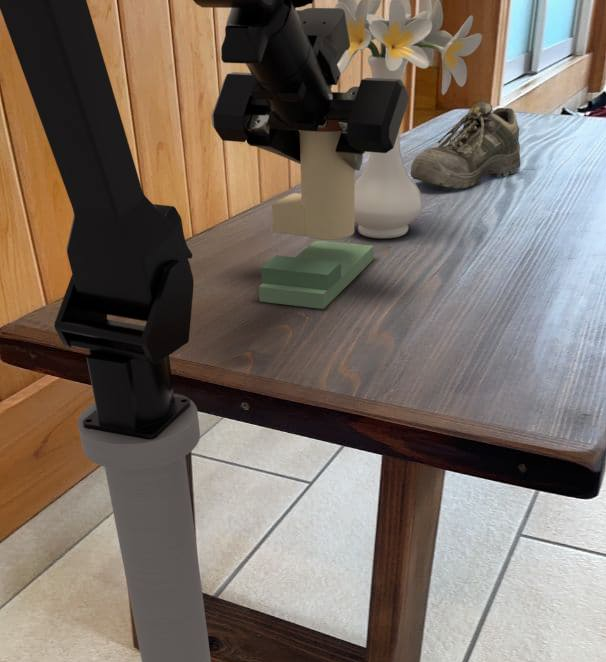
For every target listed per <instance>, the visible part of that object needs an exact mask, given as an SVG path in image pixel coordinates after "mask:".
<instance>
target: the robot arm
mask: <svg viewBox="0 0 606 662" xmlns="http://www.w3.org/2000/svg"><path fill="white" fill-rule="evenodd" d="M192 1H193V2H194V4H196V5H197V6H198V7H201V8H209V9H211V8H214V9H216V8H217V9H224V8H225V9H227V8H228V9H230V11H229V14H228V17H227V20H226V24H225V27H224V37H223V41H222V43H221V48H220V57H221V58H220V59H221V61H222V62H223V63H224V64H245V66H246V67H247V69H248V71H249V72H240V71H239V72H238V71H237V72H236V71H233V72H230V73H227V74H226V75H225V77H224V78H223V82H222V83H221V87H220V90H219V93H218V96H217V99H216V102H215V105H214V108H213V111H212V114H211V125H212V127H213V129H214V130H215V132H216V134H217V135H218V136H219V138H220V139H221V141H223V142H225V141H226V142H234V143H235V142H238V143H245V142H246V144H247V145H249V146H250V147H254V148H255V147H256V148H259V149H261V150H264V151H266V152H270V153H272V154H275V155H278V156H279V157H283V158H285V159H287V160H290V161H292V162H294V163H297V164H299V165H301V164H300V130H301V131H315V132H317V129H318V128H325V127H326V126H327V124H328V120H334V121H339V125H340V127H341V128H343V129H342V132H341V135H340V138H339V141H338V144H337V147H336V150H335V151H336V153H337V154H338V155H339V156H340V157H342V158H343V159H344V160H345V161H346V162H347V163H348V164H349V165H350V166H351V167H352V168H353V169H355V171H360V170H361V167H362V164H363V160H364V159H363V158H364V153H370V152H376V153H387V152H388V151H390V150H391V149H393V147H394V144H395V141H396V138H397V135H398V132H399V133H400V128H401V125H402V122H403V119H404V117H405V113H406V110H407V107H408V104H409V102H410V101H409V100H410V97H409V94H408V90H407V88H406V86H405V84H404V82H403V80H402V81H401V79H382V78H372V77H366V78H363V79H361V80H360V82H359V86H352V87H349V89H348V90H347V91H346V92H339V91H332V87H333V86H337V85H338V83H339V80H340V77H341V73H340V70H339V68H338V66H337V63H338V62H339V60H340V59H341V57H342V56H343V54H344V53H345V51H346V50H348V49H349V47H350V41H349V35H348V29H347V23H346V17H345V11H344V10H343V9H340V8H335V7H307V8H304V9H299V10H297V9H296V8H302V7H306V6H308V5H312V4H313V3H314V0H192ZM0 12H1V16H2V18H3V21H4V23H5V27H6V30H7V33H8V35H9V37H10V40H11V43H12V46H13V48H14V51H15V54H16V57H17V59H18V62H19V65H20V68H21V70H22V73H23V75H24V78H25V81H26V84H27V86H28V90H29V92H30V95H31V98H32V100H33V101H32V102H33V104H34V106H35V109H36V112H37V114H38V117H39V120H40V122H41V126H42V128H43V131H44V134H45V136H46V139H47V142H48V144H49V145H48V146H49V147H50V150H51V153H52V155H53V159H54V161H55V163H56V166H57V170H58V173H59V175H60V177H61V180H62V183H63V186H64V188H65V191H66V193H67V196H68V199H69V202H70V205H71V208H72V212H73V218H72V223H71V226H70V231H69V235H68V240H67V244H66V255H67V259H68V263H69V267H70V271H71V276H70V278H69V282H68V285H67V288H66V290H65V293H64V296H63V299H62V302H61V304H60V307H59V310H58V312H57V316H56V318H55V320H54V325H53V326H54V329H55V331H56V333H57V335H58V337H59V339H60V341H61V343H62V344H63V346H64V347H67V348H72V347H73V348H77V349H83V350H88V351H89V354H88V355H86V362H87V367H88V372H89V377H90V383H91V384H90V385H91V389H92V395H93V400H94V403H95V405H96V410H95V411H94V412H93V413H92V414H90V415H89V416H88V417H87V418H85V419H84V420H83V427H84V428H87V429H93V430H98V431H104V432H109V433H114V434H120V435H125V436H131V437H136V438H142V439H147V440H151V439H155V438H156V437H157V436H158V435H159V434H161V433H162V432H163V431H164V430H165V429H166V428H167V427H168V426H169V425H170V424H171V423H172V422H174V421H175V420H176V419H177V418H178V417H179V416H180V415H181V414H182V413H183V412H184V411H185V410H186V409H188V408H189V407H190V405H191V404H190V400H191V399H190V398H189V399H187V398H182V397H176V396H173V392H175V391H174V384H173V376H172V375H173V374H172V369H171V361H170V356H171V354H173V353H175V352H176V351H178V350H179V349H180V348H182V347H184V346H185V345H187V344H188V343H189V341H190V331H191V319H192V311H193V310H192V309H193V300H194V299H193V296H194V276H193V271H192V268H191V264H190V261H189V259H192V258H193V253H192V251H191V249H190V248H189V246H188V244H187V241H186V237H185V234H184V233H185V232H184V227H183V221H182V217H181V215H180V213H179V211H178V209H177V208H176V207H175V206H173V205H166V204H158V203H157V204H156V203H152V201H151V200H150V199H149V198H148V197H147V196H146V195H145V193H144V191H143V188H142V184H141V181H140V178H139V174H138V171H137V168H136V164H135V161H134V157H133V154H132V151H131V147H130V144H129V141H128V137H127V134H126V131H125V127H124V123H123V119H122V117H121V112H120V109H119V107H118V103H117V100H116V96H115V93H114V90H113V86H112V83H111V79H110V76H109V73H108V72H109V71H108V69H107V66H106V62H105V59H104V55H103V51H102V48H101V46H100V42H99V38H98V35H97V32H96V28H95V24H94V21H93V18H92V15H91V11H90V8H89V5H88V1H87V0H0ZM108 316H111V317H117V318H124V319H130V320H135V321H140V322H146V323H145V325H140V324H136V323H129V322H124V321H118V320H113V319H108Z"/></svg>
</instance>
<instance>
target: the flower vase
mask: <svg viewBox="0 0 606 662" xmlns="http://www.w3.org/2000/svg"><path fill="white" fill-rule="evenodd" d="M381 4H382V0H360V1H359V2H357V0H338V2H336V4H335V6H334V8H340V9H343V10H344V11H345V17H346V23H347V29H348V35H349V41H350V47H349V49H348V50H346V51H345V53H344V54H343V56H342V57H341V59H340V60H339V62H338V63H337V66H338V68H339V70H340V73H341V74H343V73H344V72H345V71H346V69H348V67H349V64H350V63H351V61H352V59H353V58H354V56H355V55H356V54H357V53H358V52H359V51H362V50H365V49H366V48H367V49H369V50H370V52H371V55H368V57H367V63H368V65H369V67H370V71H371V78H382V79H401V81H402V82H403V79H404V74H405V71H406V70H405V69H406V66H407V64H408V63H410V64H412V65H414V66H415V67H417V68H419V69H424V70H425V69H428V68H429V66H430V62H431V61H433V60H434V58H435V54H434V51H433V50H435V51H437V52H439V53H440V54H441V66H442V76H441V94H442V96H444V95H445V94H446V93H448V92H447V91H448V90H449V88H450V85H451V82H452V77H453V79H454V81H455V82H456V85H458V87H461V88H462V87H464V86H465V84H466V82H467V79H468V67H467V64H466V62H465V60H464V59H463V58H462V57H468V56H469V55H471V54H472V53H474V52H475V51H476V50H477V49H478V47H479V46H480V45H481V43H482V39H483V35H482V33H474V34H471V35H469V36H467V35H468V34H469V32H470V31H471V28H472V25H473V22H474V16H473V15H469V16H468V17H467V19H466V20H465V22H464V23H463V24H462V25H461V27H460V28H459V30H458V31H457V32H456V33H455V34H454V36H453V35H452V34H451V33H449V32H448V31H446V30H440V29H441V28H442V25H443V21H444V11H443V6H442V2H441V1H440V0H435V2H434V5H433V4H432V0H426V10H423V11H421V12H419V13H417V14H416V15H415V16H413V17H411V16H412V7H411V3H410V0H390V3H389V6H388V19H387V20H386V19H384V18H383V17H382V16H380V15H377V12H378V10H379V8H380V6H381ZM375 40H377V42H379V43H381V46H380V47H381V53H380V51H379V48H378V46H377V45H376V44H375V42H373V41H375ZM341 74H340V75H341ZM400 137H401V136H400V131H399V132H398V135H397V138H396V141H395V144H394V147H393V149H391V150H390V151H388V152H387V153H376V152H369V157H368V159H367V163H366V165H365V167H364V170H363V171H362V173H361V175H360V176H359V178H358V179H357V180H355V212H354V224H357V225H358V226H357V231H358V233H359V234H360V235H362V236H364V237H366V238H372V239H395V238H399V237H403V236H404V235H406V234H407V233H408V232H409V225H410V224H411V223H413V222H414V221H415V220H416V219H417V217H418V216H419V215H420V213H421V211H422V210H423V206H424V204H423V198H422V193H421V190H420V188H419V187H418V185H417V183H416V182H415V181H414V179H413V178H412V177H411V176H410V175H409V174H408V172H407V169H406V167H405V165H404V161H403V158H402V152H401V142H400V141H401V140H400V139H401V138H400Z"/></svg>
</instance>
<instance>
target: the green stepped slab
mask: <svg viewBox="0 0 606 662" xmlns="http://www.w3.org/2000/svg"><path fill="white" fill-rule="evenodd" d="M374 247H375V246H374V245H369V244H360V243H359V244H358V243H349V242H348V243H347V242H336V241H328V240H318V239H315V240H314V241H313V242H312V243H311V244H309V245H308V246H307V247H305V248H304V249H303V250H302V251H301V252H299V253H298V254H297V255H296V256H285V255H275V256H274V257H272V259H270V260H269V261H267V262H266V263H265V264H263V265H262V266H261V267H260V273H261V284H260V285H259V286H258V294H259V295H258V296H259V297H258V298H259V302H261V303H267V304H268V303H269V304H277V305H285V306H286V305H287V306H293V307H294V306H295V307H302V308H311V309H319V310H324V309H326V308H327V306H328V305H329V304H330V303H332V301H334V299H336V298H337V296H338V295H340V293H341V292H342V291H344V290H345V288H347V286H349V285H350V284H351V283H352V282H353V281H354V280H355V279H356V277H358V275H360V274H361V272H363V271H364V270H365V269H366V268H367V267H368V266H369V265H370V264H371V263H372V261H374Z"/></svg>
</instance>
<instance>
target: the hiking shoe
mask: <svg viewBox="0 0 606 662" xmlns="http://www.w3.org/2000/svg"><path fill="white" fill-rule="evenodd" d="M461 127H462V128H461ZM460 128H461V130H460V131H459V129H460ZM444 139H445V140H444ZM519 140H520V127H519V124H518V119H517V116H516V113H515V110H513V108H509V107H498V108H495V110H493V105H492V104H491V103H490V102H488V101H487V100H483V101H480V102H478V103H477V102H476V103H475V104H473V105H472V106H471V108H469V110H468V112H467V113H466V114H465V115H464V116H462V118H461V119H460V120H459V121H458V122H457V123H456V124H454V126H453V127H452V128H451V129H450V130H449V131H448V132H447V133H445V135H443V137H440V139H439V140H438V141H437V143H438V144H439V145H438V146H435V147H429V148H427V149H424V150H423V151H422V152H420V153H419V154H418V155H416V156H415V158H414V159H413V161H412V163H411V167H410V173H409V174H410V178H411V179H412V180H416V181H421V182H423V183H427V184H431V185H436V186H440V187H445V188H452V189H467V188H469V187H473V186H476V184H478V183H479V182H480V180H481V178H482V177H483V176H484V175H488V176H491V177H494V178H500V177H501V176H503V177H506V176H509V174H511V175H512V174H515V173H516V172H518V171H517V170H518V169H520V167H521V154H520V151H521V150H520V149H521V144H520V141H519Z"/></svg>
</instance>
